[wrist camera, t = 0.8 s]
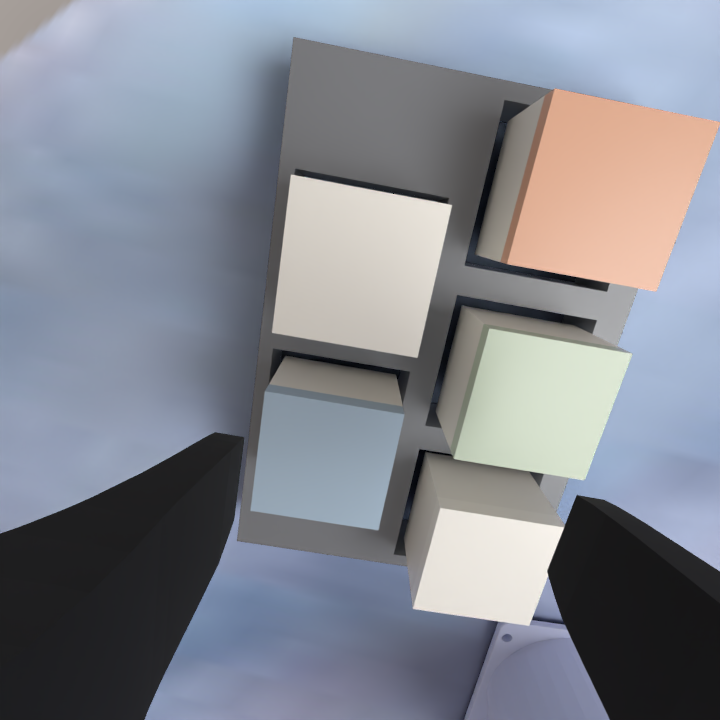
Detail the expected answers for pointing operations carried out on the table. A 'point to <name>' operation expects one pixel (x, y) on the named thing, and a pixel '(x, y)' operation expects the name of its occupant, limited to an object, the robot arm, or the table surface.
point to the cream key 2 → (479, 540)
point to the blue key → (327, 443)
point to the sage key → (528, 392)
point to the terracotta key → (593, 188)
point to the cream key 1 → (358, 266)
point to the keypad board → (454, 277)
